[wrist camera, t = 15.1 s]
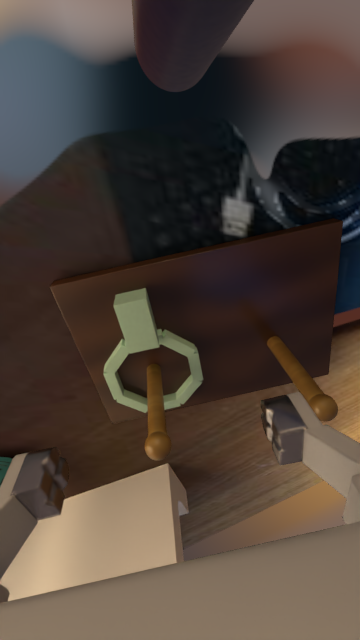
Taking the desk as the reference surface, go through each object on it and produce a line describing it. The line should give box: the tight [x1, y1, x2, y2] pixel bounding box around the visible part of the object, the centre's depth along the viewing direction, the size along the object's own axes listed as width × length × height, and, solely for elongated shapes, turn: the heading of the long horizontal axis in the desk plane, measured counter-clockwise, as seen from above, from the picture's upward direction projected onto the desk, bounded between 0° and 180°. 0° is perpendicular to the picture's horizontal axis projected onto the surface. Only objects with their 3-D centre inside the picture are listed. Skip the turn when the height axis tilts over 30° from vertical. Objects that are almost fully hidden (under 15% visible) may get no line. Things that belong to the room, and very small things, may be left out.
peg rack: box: [50, 218, 343, 460], centre depth 27 cm, size 19×28×13 cm
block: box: [0, 463, 189, 601], centre depth 34 cm, size 35×8×28 cm, turn 111°
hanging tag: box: [103, 288, 203, 413], centre depth 30 cm, size 15×10×2 cm
